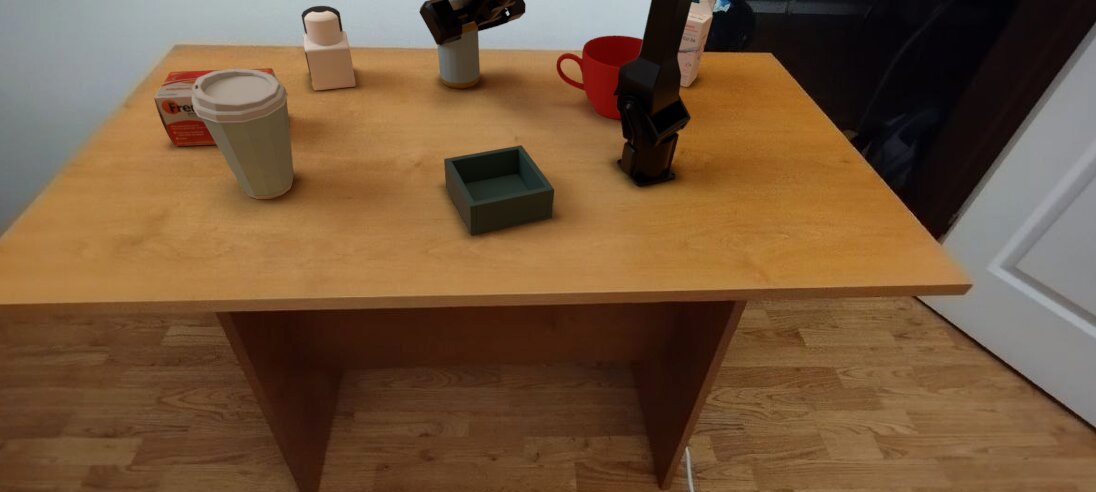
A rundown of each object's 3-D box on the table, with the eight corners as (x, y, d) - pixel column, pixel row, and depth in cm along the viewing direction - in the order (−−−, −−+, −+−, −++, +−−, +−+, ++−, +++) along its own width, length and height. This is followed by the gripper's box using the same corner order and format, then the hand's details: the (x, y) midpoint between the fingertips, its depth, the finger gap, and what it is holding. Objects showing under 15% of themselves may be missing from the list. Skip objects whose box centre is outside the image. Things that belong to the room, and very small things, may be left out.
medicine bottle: (311, 73, 103) (296, 3, 95) (352, 69, 105) (340, 0, 97) (313, 91, 98) (297, 19, 90) (356, 87, 100) (344, 16, 92)
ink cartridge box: (644, 76, 108) (660, -8, 98) (654, 67, 111) (671, -15, 101) (688, 88, 104) (709, 3, 94) (697, 78, 108) (718, -5, 98)
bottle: (474, 91, 100) (470, 1, 90) (435, 87, 101) (427, -3, 91) (484, 74, 105) (481, -13, 95) (447, 70, 106) (440, -17, 96)
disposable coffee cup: (305, 160, 83) (279, 57, 73) (314, 202, 76) (287, 95, 65) (226, 172, 80) (187, 68, 70) (227, 218, 73) (184, 109, 62)
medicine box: (172, 147, 84) (150, 96, 78) (186, 120, 90) (166, 70, 84) (280, 142, 86) (266, 92, 81) (287, 115, 92) (275, 67, 86)
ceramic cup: (555, 87, 103) (559, 30, 96) (650, 95, 102) (661, 38, 95) (551, 123, 93) (555, 63, 86) (656, 131, 92) (669, 71, 86)
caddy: (520, 172, 83) (521, 144, 80) (552, 217, 75) (554, 189, 72) (445, 186, 79) (443, 158, 76) (470, 235, 72) (470, 206, 69)
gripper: (515, -77, 90) (468, -19, 103) (422, -58, 79) (383, 5, 92) (550, -11, 91) (499, 39, 104) (463, 17, 81) (418, 68, 94)
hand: (452, 36), depth 99 cm, fingers closed on bottle, 7 cm apart
